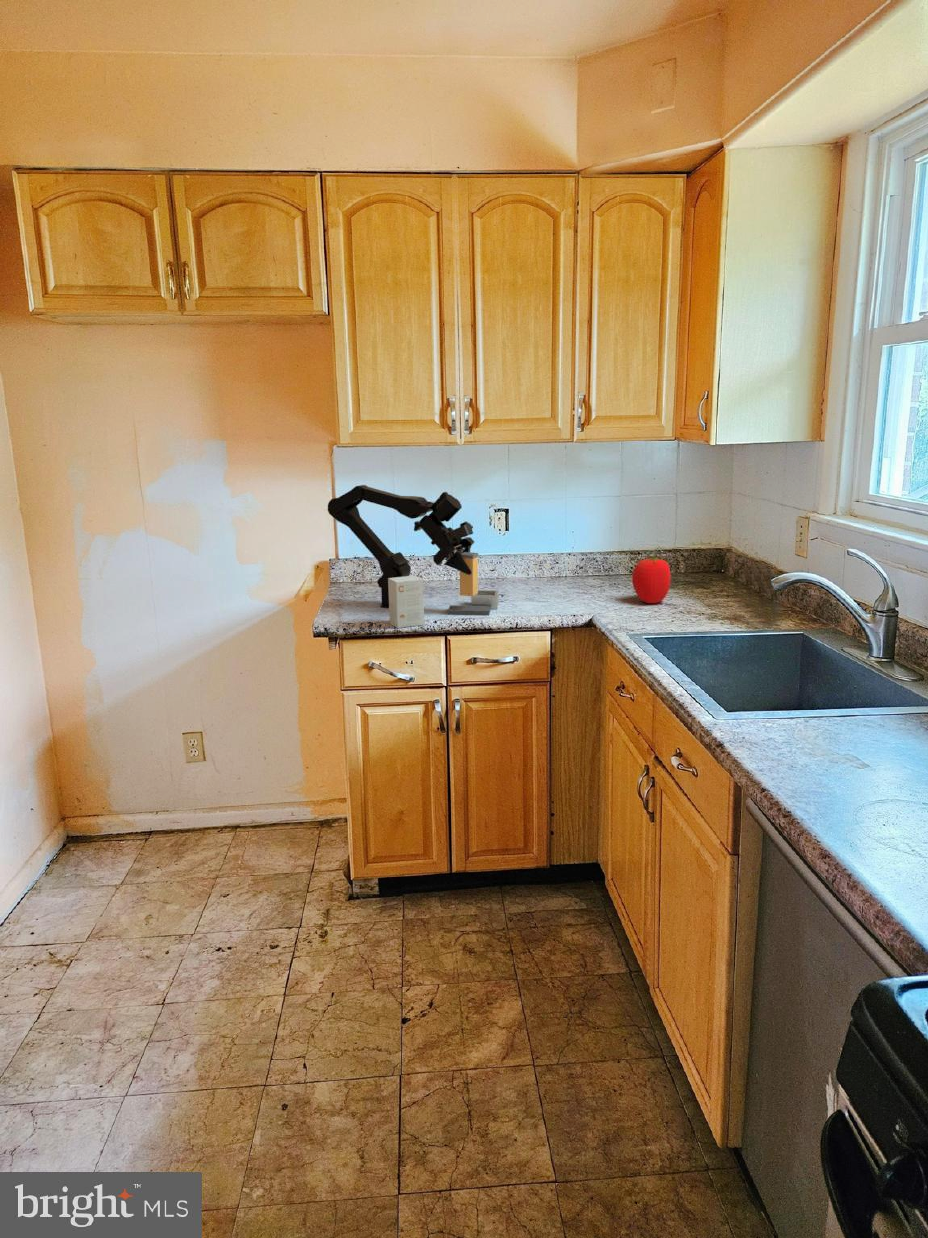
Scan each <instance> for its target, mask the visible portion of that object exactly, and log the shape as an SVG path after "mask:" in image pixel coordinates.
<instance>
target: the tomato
mask: <svg viewBox="0 0 928 1238" xmlns="http://www.w3.org/2000/svg"><path fill="white" fill-rule="evenodd" d="M671 574H672V573H671V569H670V565H669V563H668V562H667V561H666V560H664V559H662V558H659V557H657V556H654V555H653V557H651V558H645V559H642V560H640V561H638V562H637V563H636V565H635V566H634V569H633V572H632V577H631V579H632V580H631V581H632V587H633V589H634V591H635V594H636V595H637V597H638V598H639V599H640V600H641V601H642V602H644V603H646V604H658V603H661V602H662V601H663V600H664V599H665V598H666V596H667V595H668V592H669V591H670V586H671V578H672V577H671Z"/></svg>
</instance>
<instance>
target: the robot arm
mask: <svg viewBox="0 0 928 1238" xmlns="http://www.w3.org/2000/svg"><path fill="white" fill-rule="evenodd" d="M363 501H365V502H368V503H371V504H376V505H378V506H383V507H386V508H389V509H393V510H395V511H397V512H398V513H399V514H400V515H402V516H404V517H407V518H409V519H413V520H414V519H417V518H420V517H421V518H420V519H419V520H417V521H414V522H413V524H414V526H413V531H414V532H418V531H421V530H422V531H423V532H424V533H425V534H426V536H428V538H429V539H430V540H431V542H430V544H431V545H432V546H434V545H435V546H436V547H437V548H438V549H439V550H438V551H437V552H436V553H435V554H434V555H433V557H432V558H433V559H432V561H433V562H434V564H435V565H436V566H440V565H442V564H443V561H444V560H446V561H445V562H444V564H443V565H444V566H448V567H450V568H453V569H455V570H456V571H459V572H460V571H461V572H463V573H466V574H468V575H470V574H471V573H472V572H471V570H470V569H469V567H468V566H467V564H466V563H465V561H464V560H463V559H462V557H461V553H464V552H471V548H472V545H474V544H475V541H474V540H473V538H472V537H470V536H471V535H473V534H474V531H473V529H474V528H473V527H474V526H473V525H471V523H470V522H468V521H464V522H461V523H459V527H457V528H455V529H453V528H452V527H450V526H449V527H447V526H446V524H444V522H448V523H449V521H451V520H452V518H453V517H455V515H456V514H457V513H458V512H459V511H460V510H461V509H462V503H461V502H460V500H459V499H457V498H455V496H453V495H452V494H449V493H448V492H447V491H443V492H442V493H441V494H440V495H439V497H438V498H437V499H436V500H435V501H434V502H432V501H428V500H427V499H426V497H423V496H416V495H413V496H412V495H399V494H396V493H392V492H388V491H385V490H380V489H377V488H374V487H370V486H367V485H366V484H361V485H356V486H354V487H353V488H352V489H350V490H348V491H347V492H346V493H343V494H342V495H340V496H339V497H334V498H332V499H330V500H329V501H328V503H327V512H328V515H330V516H331V517H332V518H334V520H336V521H337V522H339V523H341V524H343V525H345V526H346V527H347V528H348V529H349V530H350V531H351V533H353V534H354V535H355V536H356V538H357V539H358V540H359V541H360V542H361V543H362V544H363V546H364V547H365V548H366V549H367V550H368V551H369V552H370V554H371V555H372V556H373V557H374V559H376V560H377V562H378V564H379V568H380V571H381V573H382V575H381V576H380V577H379V578H378V579H376V582H377V586H378V587H379V588H380V589H381V591H380V592H381V604H380V607H381V608H389V590H388V578H395V577H405V576H411V570H412V568H411V565H410V563H409V562H410V561H409V560H408V559H407V558H405V556H404V555H403V552H402V553H401V551H399V552H396V553H394V552H392V551H391V550H390V549H389V547H387V546H386V545H385V543H384V542H383V540H381V539H380V538H379V536H378V535H377V534H376V533H375V532H374V531H373V530H372V528H371V527H370V526H369V525H368V523H366V522H365V521H364V520H363V518H362V517H361V515H360V511H359V509H358V505H360V504H361V503H362V502H363ZM427 513H429V514H427ZM468 536H469V537H468Z"/></svg>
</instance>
